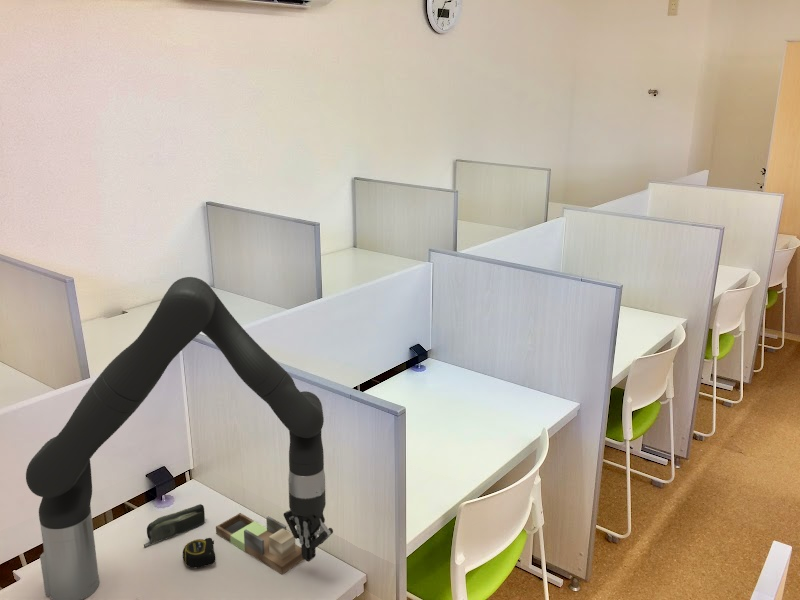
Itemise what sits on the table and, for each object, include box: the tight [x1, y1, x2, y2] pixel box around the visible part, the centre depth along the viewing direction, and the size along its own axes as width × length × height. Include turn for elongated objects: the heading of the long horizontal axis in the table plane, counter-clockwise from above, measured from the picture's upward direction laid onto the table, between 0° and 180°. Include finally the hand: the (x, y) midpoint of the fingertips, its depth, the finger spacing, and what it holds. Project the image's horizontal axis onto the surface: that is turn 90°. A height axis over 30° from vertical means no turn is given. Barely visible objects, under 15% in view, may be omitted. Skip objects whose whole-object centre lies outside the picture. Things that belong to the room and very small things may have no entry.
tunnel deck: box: [215, 512, 304, 575], centre depth 155 cm, size 22×7×6 cm, turn 52°
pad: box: [230, 520, 267, 552], centre depth 157 cm, size 5×7×2 cm
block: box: [269, 528, 296, 559], centre depth 150 cm, size 4×4×4 cm
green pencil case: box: [143, 503, 206, 548], centre depth 158 cm, size 5×3×15 cm
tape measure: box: [182, 537, 217, 569], centre depth 149 cm, size 7×7×4 cm
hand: (308, 558), depth 145 cm, fingers closed
